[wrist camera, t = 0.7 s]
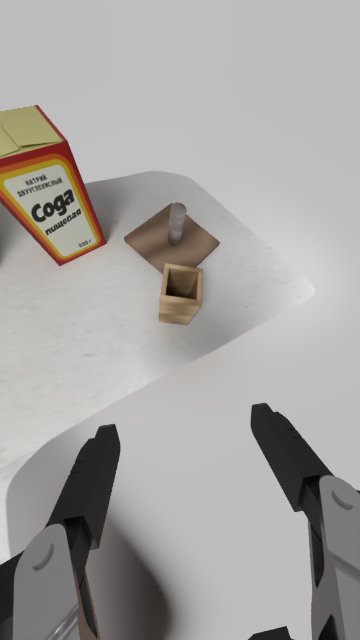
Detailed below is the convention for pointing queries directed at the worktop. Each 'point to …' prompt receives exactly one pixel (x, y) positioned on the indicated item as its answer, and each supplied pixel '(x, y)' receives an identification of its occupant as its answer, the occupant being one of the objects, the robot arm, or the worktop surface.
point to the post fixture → (172, 239)
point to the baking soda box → (45, 185)
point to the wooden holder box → (180, 293)
